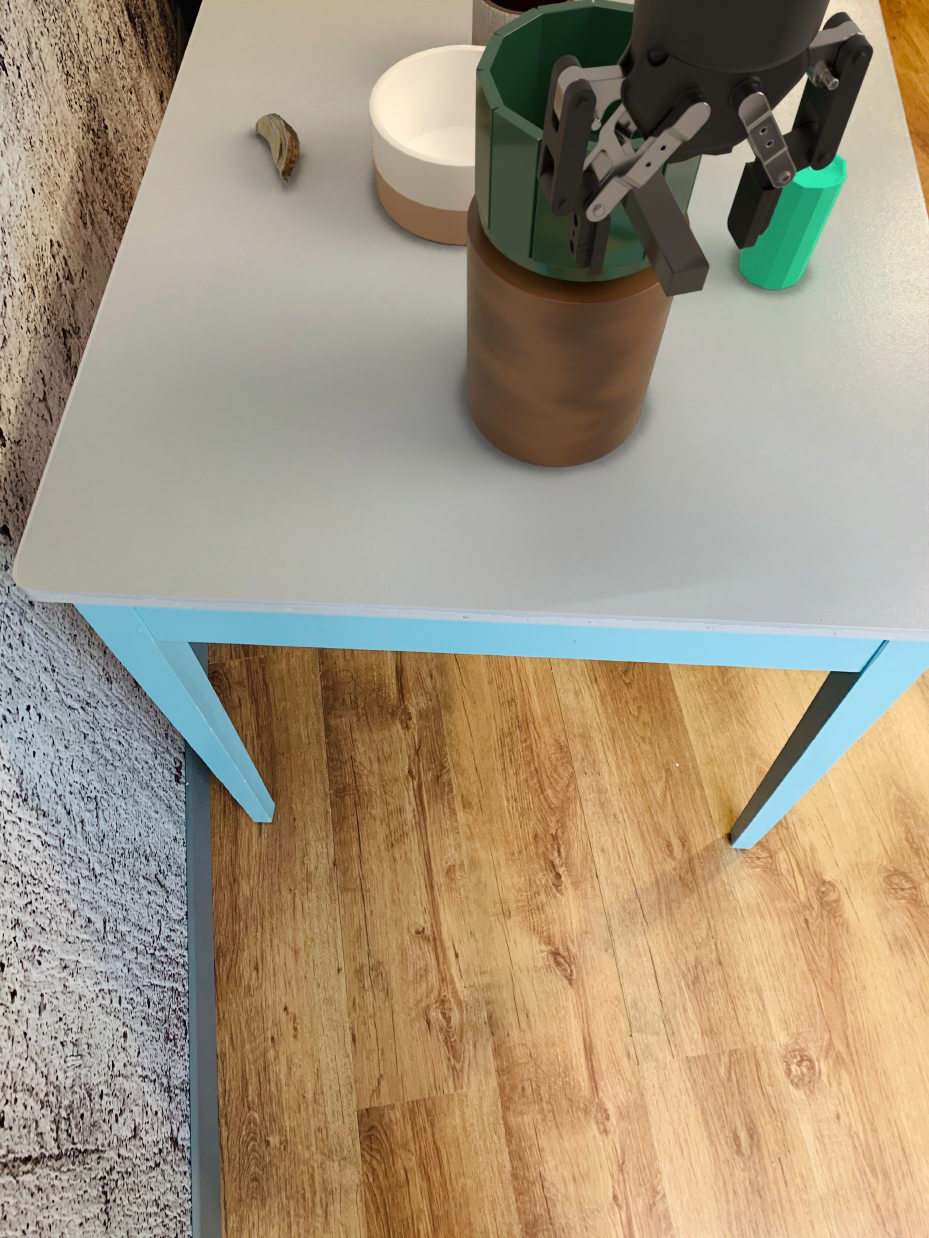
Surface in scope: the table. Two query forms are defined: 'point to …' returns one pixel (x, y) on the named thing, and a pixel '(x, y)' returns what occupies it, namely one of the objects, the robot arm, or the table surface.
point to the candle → (794, 227)
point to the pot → (512, 144)
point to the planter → (499, 15)
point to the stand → (557, 355)
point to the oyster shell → (280, 142)
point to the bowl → (427, 141)
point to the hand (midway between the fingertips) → (664, 251)
